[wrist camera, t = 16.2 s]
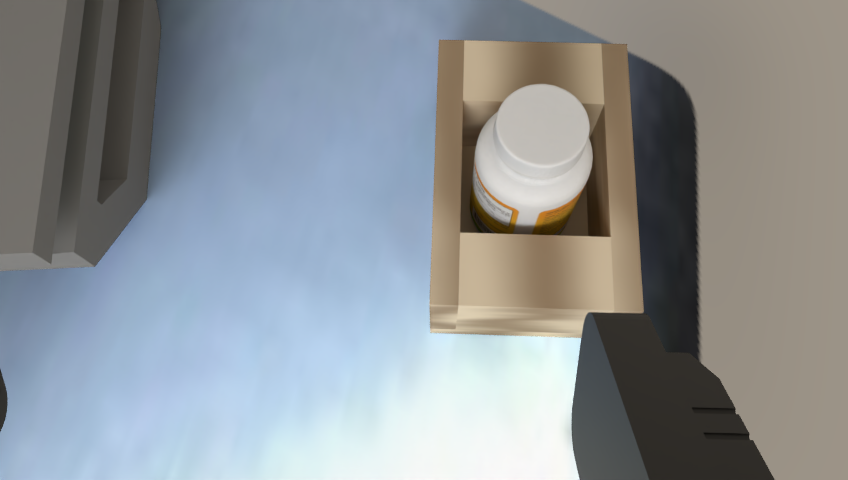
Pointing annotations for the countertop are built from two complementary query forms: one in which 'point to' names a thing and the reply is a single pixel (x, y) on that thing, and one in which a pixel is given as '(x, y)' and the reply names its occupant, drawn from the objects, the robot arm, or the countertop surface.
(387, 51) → the countertop surface
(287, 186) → the countertop surface
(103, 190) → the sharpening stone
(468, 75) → the post socket
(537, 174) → the supplement bottle
